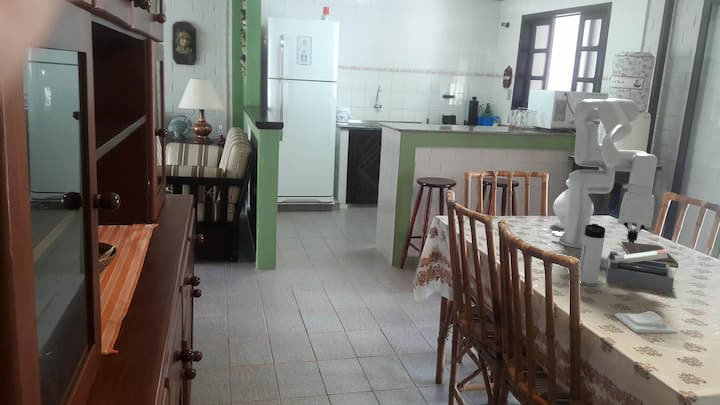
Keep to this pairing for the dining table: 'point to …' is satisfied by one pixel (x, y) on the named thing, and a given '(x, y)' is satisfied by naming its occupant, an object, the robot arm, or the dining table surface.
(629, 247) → the hardcover book
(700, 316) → the dining table surface
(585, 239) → the travel mug
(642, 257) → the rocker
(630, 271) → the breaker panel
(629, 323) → the light switch
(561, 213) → the decorative vase
